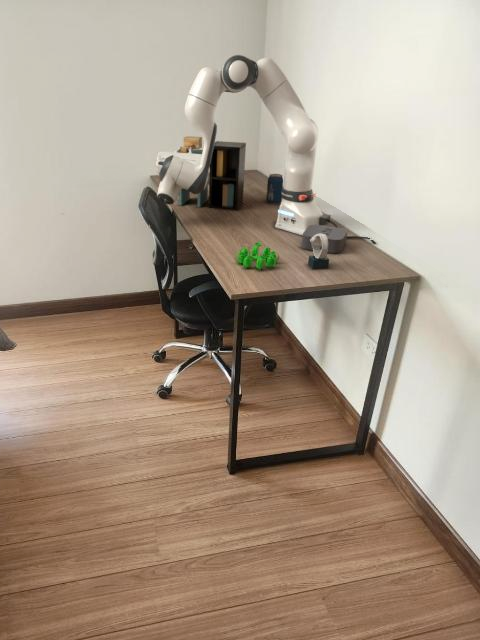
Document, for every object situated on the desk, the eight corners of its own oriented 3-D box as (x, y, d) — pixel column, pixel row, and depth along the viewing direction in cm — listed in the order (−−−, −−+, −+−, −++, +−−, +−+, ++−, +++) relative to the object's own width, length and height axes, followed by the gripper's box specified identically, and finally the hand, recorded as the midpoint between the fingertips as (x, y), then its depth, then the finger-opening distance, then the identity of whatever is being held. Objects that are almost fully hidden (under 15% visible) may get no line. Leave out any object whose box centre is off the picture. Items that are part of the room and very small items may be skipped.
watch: (321, 261, 186) (325, 230, 180) (330, 270, 180) (334, 237, 174) (305, 262, 185) (309, 231, 179) (314, 271, 179) (318, 238, 173)
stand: (199, 207, 242) (200, 155, 229) (179, 205, 244) (178, 153, 232) (207, 200, 251) (208, 150, 239) (187, 198, 254) (187, 148, 241)
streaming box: (339, 254, 192) (341, 240, 189) (299, 249, 196) (301, 235, 194) (346, 242, 203) (348, 228, 200) (308, 237, 208) (310, 224, 205)
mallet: (186, 146, 236) (186, 136, 234) (201, 147, 235) (202, 137, 232) (175, 152, 224) (175, 141, 222) (191, 153, 222) (191, 143, 220)
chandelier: (287, 262, 185) (289, 243, 181) (261, 275, 176) (263, 254, 172) (252, 252, 193) (253, 233, 190) (226, 264, 184) (226, 244, 180)
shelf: (236, 210, 238) (239, 147, 223) (208, 207, 241) (209, 145, 227) (242, 203, 246) (245, 142, 232) (215, 201, 250) (217, 141, 235)
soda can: (280, 200, 251) (283, 173, 245) (281, 204, 246) (283, 177, 239) (266, 200, 252) (268, 173, 245) (266, 204, 246) (268, 176, 239)
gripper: (199, 167, 214) (208, 143, 220) (151, 163, 219) (161, 140, 225) (201, 179, 220) (210, 156, 225) (155, 175, 225) (164, 152, 230)
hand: (185, 148), depth 225 cm, fingers closed on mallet, 2 cm apart
